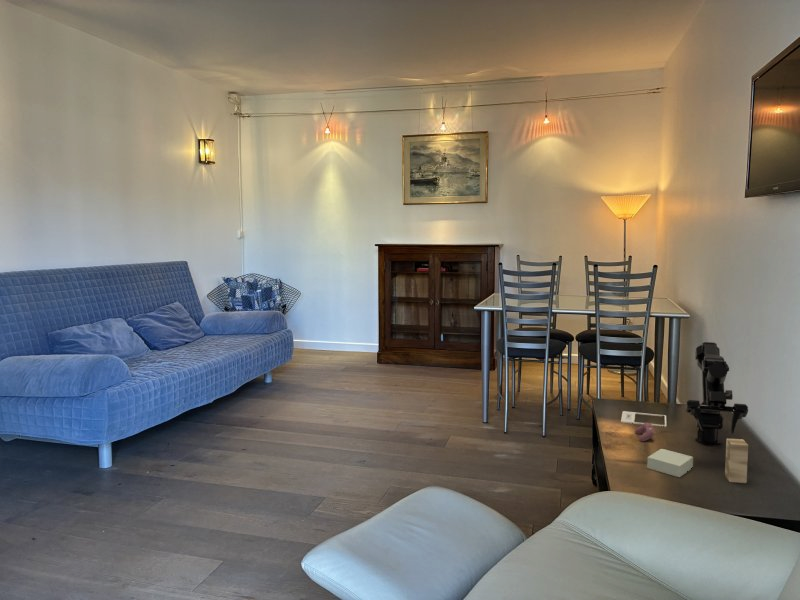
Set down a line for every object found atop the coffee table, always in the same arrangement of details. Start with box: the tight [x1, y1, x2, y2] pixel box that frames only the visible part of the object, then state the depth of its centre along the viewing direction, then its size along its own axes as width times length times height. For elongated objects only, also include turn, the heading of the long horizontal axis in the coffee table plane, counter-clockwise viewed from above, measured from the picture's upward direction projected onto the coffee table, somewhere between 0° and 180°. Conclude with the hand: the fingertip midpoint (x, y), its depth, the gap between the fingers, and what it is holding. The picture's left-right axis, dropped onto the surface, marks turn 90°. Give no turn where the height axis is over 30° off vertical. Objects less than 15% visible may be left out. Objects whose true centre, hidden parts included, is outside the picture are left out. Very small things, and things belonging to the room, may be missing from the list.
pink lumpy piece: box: [634, 422, 655, 442], centre depth 228 cm, size 10×5×7 cm, turn 169°
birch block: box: [724, 438, 749, 484], centre depth 189 cm, size 5×5×13 cm
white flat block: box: [646, 448, 694, 478], centre depth 200 cm, size 11×11×4 cm
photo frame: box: [620, 410, 667, 428], centre depth 250 cm, size 15×1×18 cm
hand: (717, 431), depth 196 cm, fingers open, 9 cm apart
